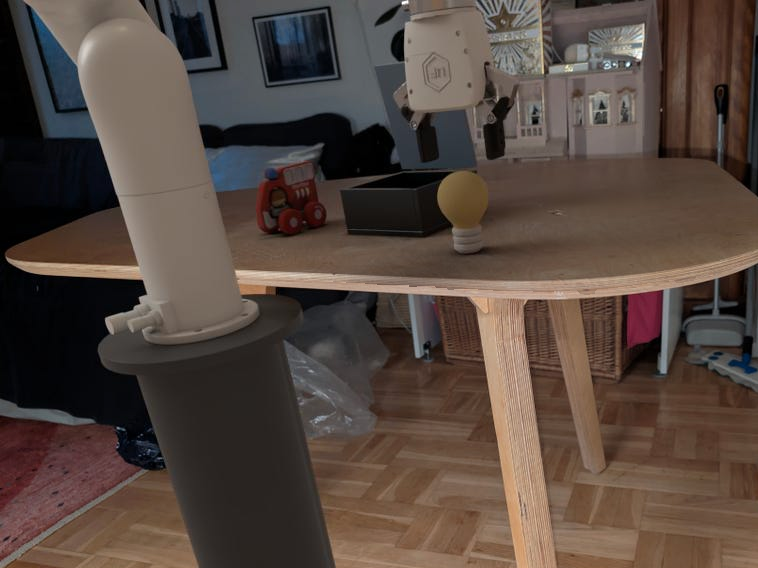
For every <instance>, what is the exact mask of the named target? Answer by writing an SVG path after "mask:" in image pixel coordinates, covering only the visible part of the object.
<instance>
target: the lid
mask: <svg viewBox="0 0 758 568" xmlns="http://www.w3.org/2000/svg"><path fill="white" fill-rule="evenodd" d="M373 68H374V73H375V75H376V79H377V82H378V83H377V84H378V86H379V90H380V93H381V97H382V101H383V106H384V109H385V113H386V116H387V119H388V123H389V126H390V131H391V134H392V137H393V141H394V144H395V147H396V152H397V156H398V160H399V162H400V167H401V170H428V169H429V170H430V169H432V170H436V169H437V170H438V169H471V168H472V169H473V168H475V169H476V168H477V167H478V161H477V155H476V152H475V147H474V141H473V138H472V132H471V128H470V124H469V118H468V114H467V109H462V110H452V111H441V112H436V114H435V116H434V118H433V120H432V122H431V124H430V125H431V126H435V129H436V135H437V143H438V150H439V158H438V159H437V160H434V161H430V162H427V163H422V162H421V160H420V154H419V150H418V144H417V137H416V131H415V130H413V129H412V128H411V127H410V123H409V122H408V121H407V120H406V119H405V118H404V117H403V116H402V114H401V109H400V108H399V107H398V105H397V103H396V101H395V99H394V97H393V94H394V92H395V91H396V90H397V89H399V88H400V87H401V86H402V85H403V84H404V83H405V82H406V72H405V60H404V61H397V62H389V63H382V64H376V65H373Z"/></svg>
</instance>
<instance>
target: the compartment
mask: <svg viewBox="0 0 758 568" xmlns="http://www.w3.org/2000/svg"><path fill="white" fill-rule="evenodd" d="M458 171H469V172H473V173H475V174H477V175H478V170H477V169H451V170H449V169H447V170H406V171H405V170H404V171H400V172H397V173H392V174H390V175H385V176H382V177H379V178H376V179H375V178H374V179H372V180H369V181H364V182H362V183H358V184H353V185H350V186H347V187H344V188H340V189H339V192H340V197H341V203H342V208H343V209H342V210H343V215H344V221H345V227H346V230H347V235H359V236H360V235H362V236H385V237H386V236H387V237H407V238H409V237H410V238H425V237H427V236H429V235H433V234H434V233H437V232H439V231H441V230H445V229H446V228H449V227H451V226H453V224H452V223H451V222H450V221H449V220H448V219H447V218H446V216H445V215H444V214H443V213H442V211H441V209H440V207H439V204H438V199H437V194H438V189H439V186H440V184H441V182H442V181H443V180H444V179H445V178H446V177H447V176H448V175H450V174H452V173H454V172H458Z"/></svg>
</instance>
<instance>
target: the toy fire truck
mask: <svg viewBox="0 0 758 568" xmlns="http://www.w3.org/2000/svg"><path fill="white" fill-rule="evenodd" d="M316 174H317V173H316V168H315V164H314V162H313V161H311V160H305V161H300V162H295V163H293V164H289V165H284V166H280V167H277V168H276V169H275V168H273V167H268V168H266V169H265V170H264V178H265V179H266V180H262V181H260V183H259V185H258V189H257V190H258V192H257V196H256V202H255V213H256V223H257V227H258V228H259V229H260V231H262V232H264V233H266V234H275V233H277V232H278V231H279V230H280V231H281V232H282V233H284V234H286V235H297V234H298V233H300V231H301V230H302V228H303V223H304V222H305V224H306V225H307V226H309V227H311V228H320V227H322V226H323V225H324V224H325V223H326V220H327V216H328V215H327V209H326V208H325V205H323V204H322V203H321V202H319V196H318V190H317V185H316Z"/></svg>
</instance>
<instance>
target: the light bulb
mask: <svg viewBox="0 0 758 568" xmlns="http://www.w3.org/2000/svg"><path fill="white" fill-rule="evenodd" d="M437 199H438V204H439V207H440V209H441V211H442V213H443V214H444V215H445V216H446V218H447V219H448V220H449V221H450V222H451V223H452V224H453V225H452V226H453V227H452V229H451V233H452V235H453V236H452V239H453V240H452V241H453V242H454V243H453V248H454V250H455V251H456V252H458V253H460V254H472V253H477V252H479V251H480V250H481V249H482V248H483V247H484V241H483V233H482V232H483V228H482V225H481V224H480V222H481V220H482V218H483V216H484V214H485V212H486V211H487V208H488V205H489V201H490V194H489V188H488V186H487V183H486V182H485V180H484V179H483V178H482V177H481V176H480V175H478V173H477V174H475V173H473V172H469V171H458V172H454V173H452V174H450V175H448V176H447V177H446V178H445V179H444V180H443V181H442V182H441V184H440V186H439V189H438V194H437Z"/></svg>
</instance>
